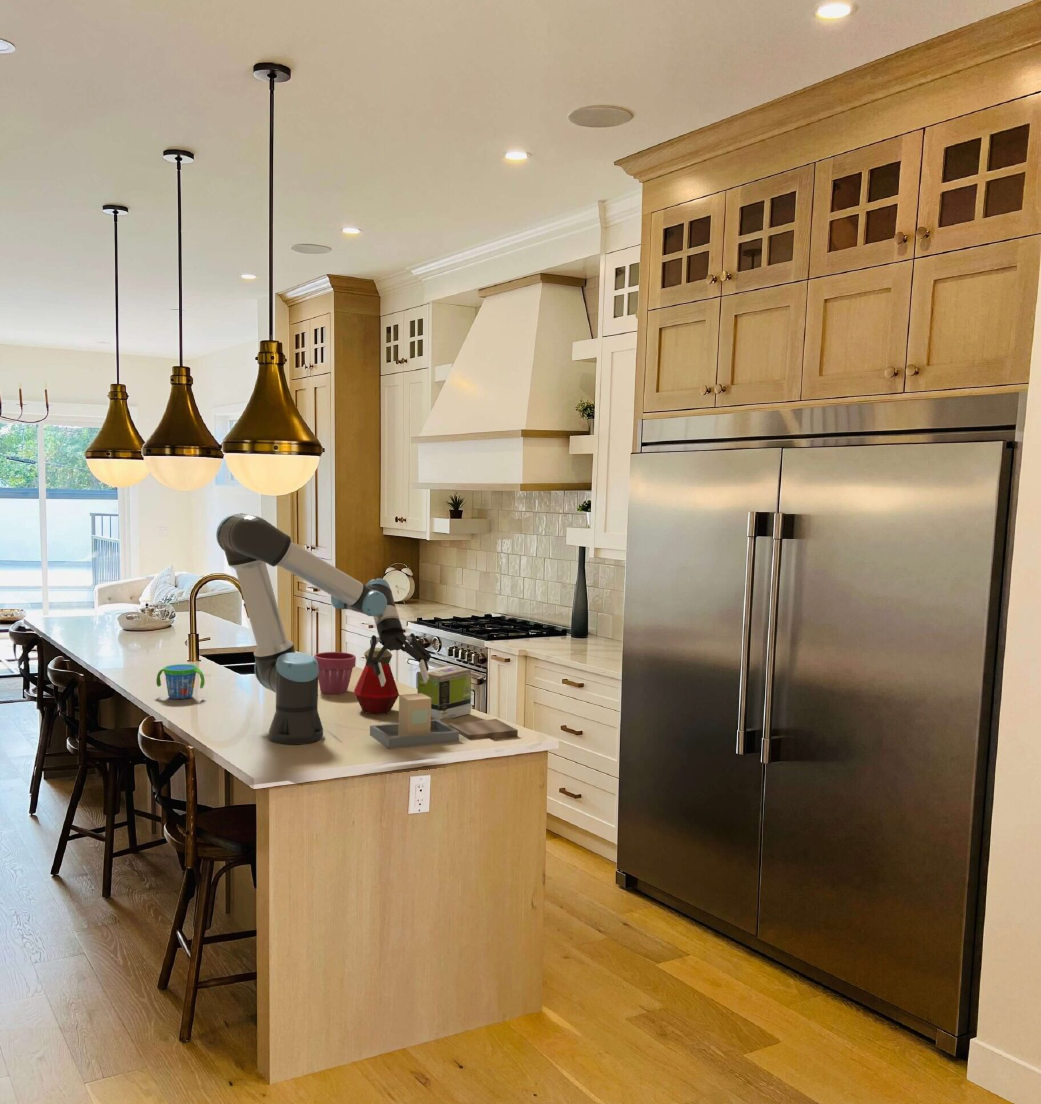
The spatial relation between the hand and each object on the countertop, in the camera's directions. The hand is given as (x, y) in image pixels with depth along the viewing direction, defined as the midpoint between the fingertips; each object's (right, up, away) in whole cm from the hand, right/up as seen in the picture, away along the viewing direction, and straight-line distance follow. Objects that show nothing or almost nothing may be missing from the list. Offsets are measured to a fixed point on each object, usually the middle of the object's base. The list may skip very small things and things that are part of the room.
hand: (405, 682), depth 284 cm
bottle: (-13, -13, +26) cm, 31 cm away
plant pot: (-31, -10, +51) cm, 60 cm away
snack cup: (-78, -10, +34) cm, 86 cm away
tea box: (+9, -14, +23) cm, 28 cm away
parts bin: (+3, -16, -8) cm, 18 cm away
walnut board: (+23, -16, +3) cm, 28 cm away
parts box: (+3, -15, -8) cm, 17 cm away
